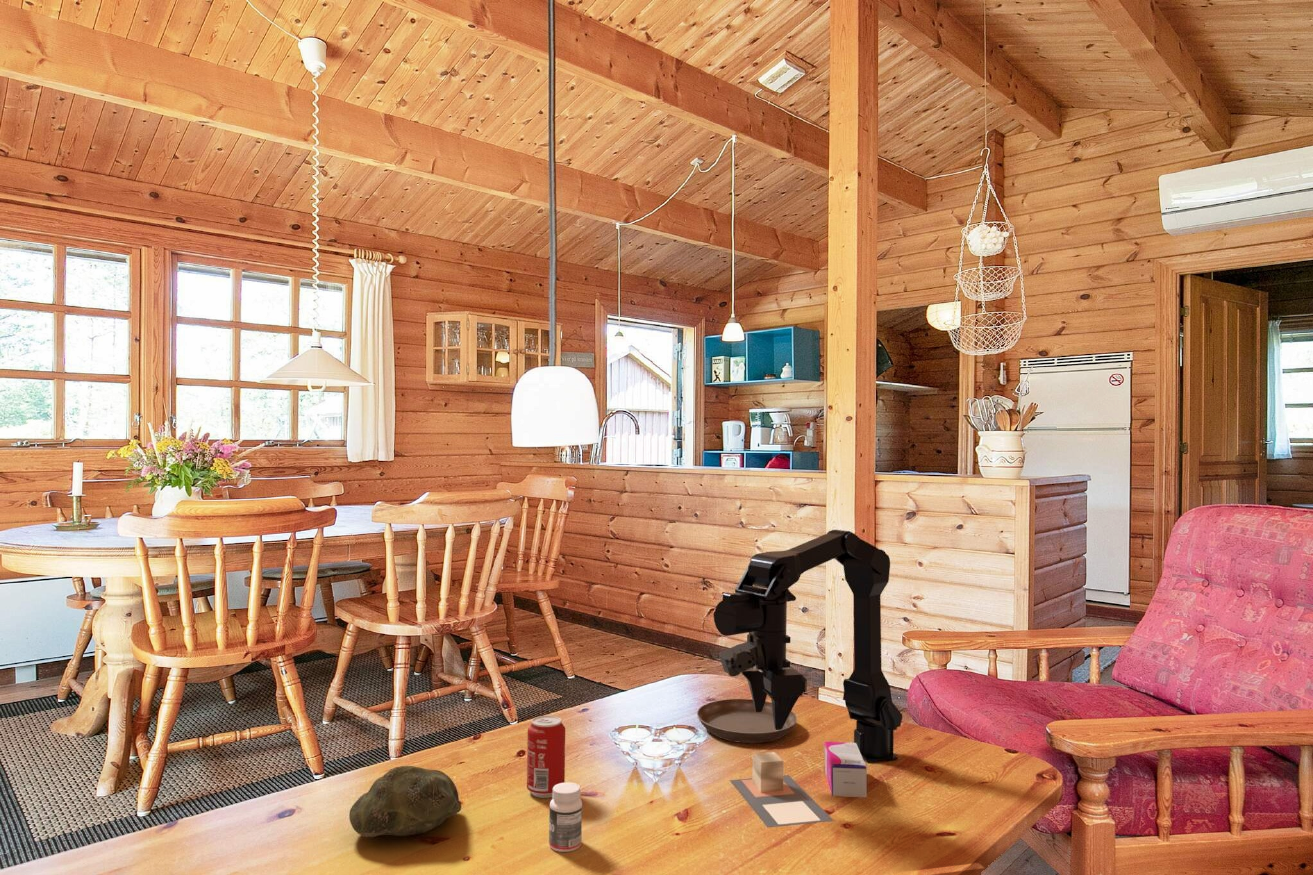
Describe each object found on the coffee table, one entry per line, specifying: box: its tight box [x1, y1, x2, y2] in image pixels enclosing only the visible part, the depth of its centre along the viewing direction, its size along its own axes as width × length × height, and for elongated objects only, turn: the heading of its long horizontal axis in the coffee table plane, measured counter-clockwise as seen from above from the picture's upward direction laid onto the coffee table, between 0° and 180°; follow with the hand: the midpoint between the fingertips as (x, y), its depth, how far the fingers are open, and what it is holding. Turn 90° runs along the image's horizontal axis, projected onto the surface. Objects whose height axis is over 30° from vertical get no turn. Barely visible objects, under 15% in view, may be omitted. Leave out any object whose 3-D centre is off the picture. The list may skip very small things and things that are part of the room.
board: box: [729, 774, 835, 828], centre depth 134 cm, size 11×18×1 cm, turn 14°
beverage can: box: [526, 715, 566, 799], centre depth 137 cm, size 6×6×12 cm
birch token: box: [751, 751, 784, 793], centre depth 139 cm, size 4×4×5 cm
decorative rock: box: [348, 765, 462, 838], centre depth 123 cm, size 15×16×10 cm
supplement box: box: [824, 741, 868, 798], centre depth 141 cm, size 6×6×12 cm
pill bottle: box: [548, 781, 583, 853], centre depth 119 cm, size 5×5×8 cm
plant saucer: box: [696, 698, 798, 744], centre depth 170 cm, size 21×21×3 cm
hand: (768, 720), depth 139 cm, fingers open, 9 cm apart
